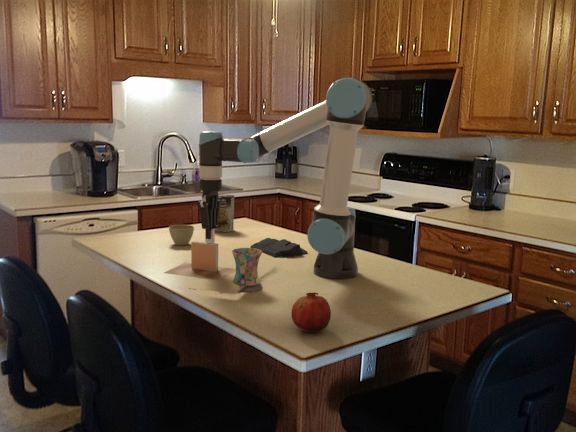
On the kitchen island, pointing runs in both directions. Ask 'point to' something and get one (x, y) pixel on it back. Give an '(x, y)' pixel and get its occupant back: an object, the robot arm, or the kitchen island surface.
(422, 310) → the kitchen island surface
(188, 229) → the flower pot
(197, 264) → the tile
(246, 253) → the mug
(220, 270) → the board
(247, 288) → the coaster
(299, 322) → the fruit
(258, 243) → the dark slate chunk
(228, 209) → the coffee box
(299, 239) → the kitchen island surface
